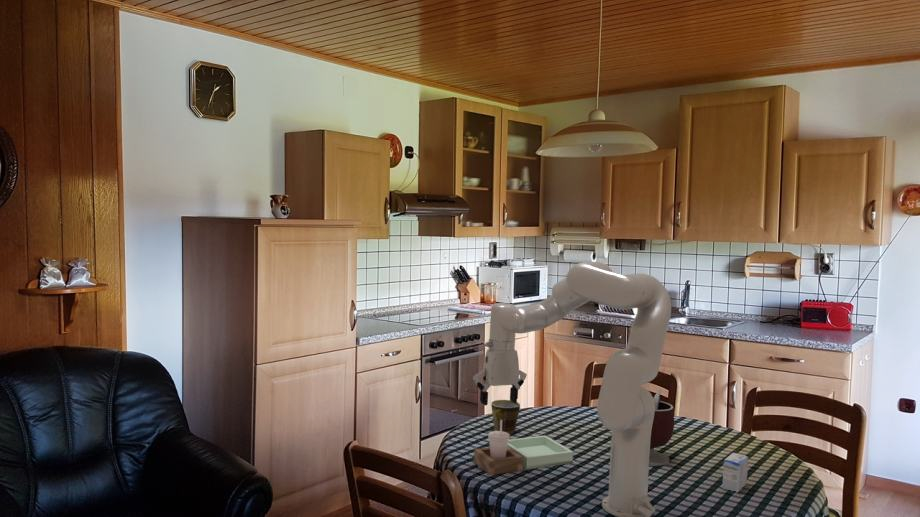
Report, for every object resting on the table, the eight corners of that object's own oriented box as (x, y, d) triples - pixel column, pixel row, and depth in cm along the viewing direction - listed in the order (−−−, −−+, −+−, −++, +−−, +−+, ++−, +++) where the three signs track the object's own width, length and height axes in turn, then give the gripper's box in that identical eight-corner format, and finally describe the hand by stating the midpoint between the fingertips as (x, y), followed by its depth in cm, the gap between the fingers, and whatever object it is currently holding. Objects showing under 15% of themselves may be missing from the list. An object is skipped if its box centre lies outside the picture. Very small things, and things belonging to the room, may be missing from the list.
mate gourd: (665, 470, 192) (668, 404, 191) (620, 460, 200) (622, 396, 199) (678, 455, 205) (681, 393, 204) (635, 446, 213) (638, 386, 212)
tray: (572, 463, 196) (573, 451, 195) (526, 469, 189) (527, 457, 189) (544, 446, 210) (545, 435, 210) (501, 451, 204) (501, 440, 203)
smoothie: (507, 471, 187) (508, 423, 186) (485, 469, 188) (486, 421, 188) (509, 463, 193) (511, 417, 193) (488, 461, 195) (490, 415, 194)
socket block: (522, 470, 188) (522, 457, 188) (489, 475, 184) (490, 461, 184) (505, 458, 198) (505, 445, 198) (473, 462, 193) (474, 449, 193)
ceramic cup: (496, 425, 230) (497, 398, 229) (523, 430, 226) (524, 402, 225) (482, 435, 218) (483, 406, 218) (509, 441, 214) (510, 411, 213)
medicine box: (730, 481, 185) (732, 452, 185) (746, 486, 182) (748, 456, 182) (721, 489, 179) (723, 459, 179) (738, 494, 176) (740, 463, 176)
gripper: (480, 349, 182) (477, 408, 183) (534, 347, 189) (530, 404, 190) (469, 344, 189) (466, 401, 190) (521, 342, 196) (518, 397, 197)
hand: (498, 402), depth 190 cm, fingers open, 9 cm apart
